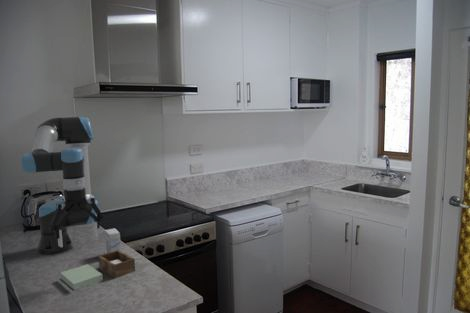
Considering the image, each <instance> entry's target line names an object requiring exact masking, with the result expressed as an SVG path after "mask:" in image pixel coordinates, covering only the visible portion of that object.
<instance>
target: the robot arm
mask: <svg viewBox="0 0 470 313" xmlns="http://www.w3.org/2000/svg"><path fill="white" fill-rule="evenodd" d="M34 138H35V140H34V142H33V145H32V148H31V151H30V152H29V153H23V154H22V155H21V168H22V171H23V172H24V173H26V174H27V173H29V174H30V173H33V174H35V173H43V172H45V173H46V172H59V171H62V182H63V183H62V184H63V185H62V186H63V189H64V190H63V192H64V194H63V196H64V200H60V199H59V200H54V201H50V202H47V203H44V204H42V205H41V206H40V207H39V208H38V218H39V228H40V229H39V230H40V231H39V232H40V238H39V241H38V245H37V251H38V254H41V255H54V254H59V253H63V252H65V251H68V250H70V249H71V248H72V247H73V242H72V239H71V236H70V234H69V233H68V228H69V227H77V226H85V225H86V226H87V225H92V232H93V234H92V235H93V237H94V238H96V239H97V238H99V232H98V229H100V222H101V220H102V219H104V215H103V214H102V212H101V210H100V209H99V207H98V205H99V204H98V203H99V202H98V200H97V199H95V196H94V195H93V194H92V189H91V178H90V177H91V174H90V163H89V160H90V159H89V149H88V148H89V146H90V145H91V141H94V135H93V131H92V125H91V122H90V119H89V118H88V117H84V116H75V117H53V118H50V119H48V120H45V121H43V122H42V123H41V124H39V125H38V126H37V128H36V129H35V131H34ZM55 142H64V143H65V146H66V147H68V148H63V149H62V150H61V151H55V152H53V150H54V145H55Z"/></svg>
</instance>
